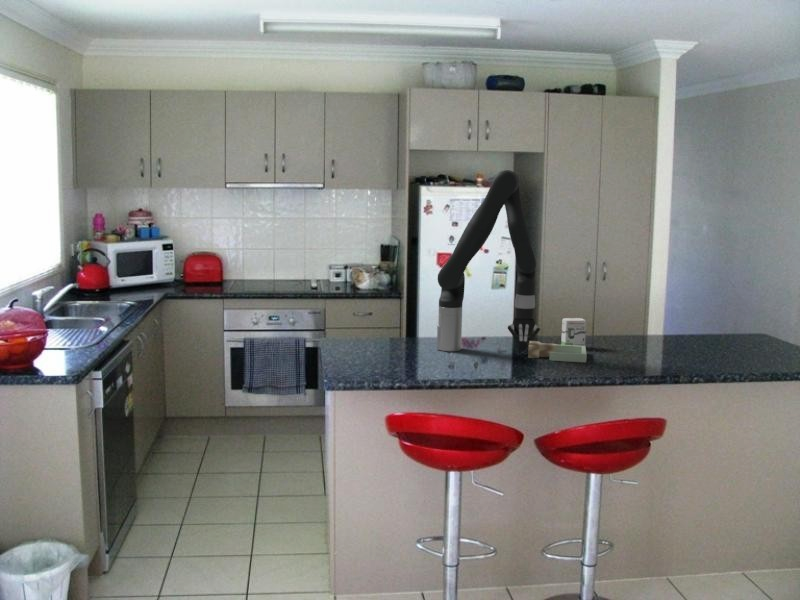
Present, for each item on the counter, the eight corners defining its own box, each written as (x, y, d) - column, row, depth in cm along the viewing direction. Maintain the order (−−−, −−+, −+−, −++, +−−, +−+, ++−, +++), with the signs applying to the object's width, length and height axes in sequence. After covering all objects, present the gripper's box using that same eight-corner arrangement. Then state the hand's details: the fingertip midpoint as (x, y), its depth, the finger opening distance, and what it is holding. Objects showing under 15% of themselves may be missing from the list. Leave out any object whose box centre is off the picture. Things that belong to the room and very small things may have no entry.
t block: (528, 357, 324) (528, 346, 323) (529, 352, 333) (529, 340, 333) (554, 359, 322) (555, 347, 321) (555, 353, 331) (555, 342, 331)
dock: (549, 360, 319) (549, 352, 319) (549, 351, 335) (550, 344, 334) (586, 362, 317) (586, 354, 316) (585, 353, 332) (585, 346, 332)
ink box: (564, 349, 340) (566, 320, 338) (560, 346, 345) (561, 318, 343) (585, 348, 341) (586, 320, 339) (580, 346, 346) (582, 317, 344)
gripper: (506, 306, 323) (505, 351, 326) (542, 308, 321) (540, 353, 324) (508, 303, 331) (506, 347, 333) (542, 305, 328) (540, 349, 331)
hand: (522, 350), depth 329 cm, fingers closed
